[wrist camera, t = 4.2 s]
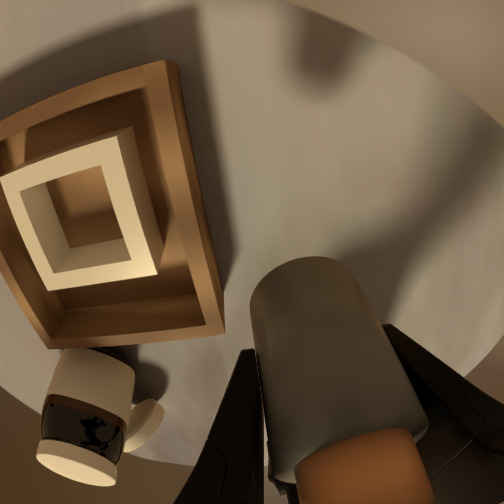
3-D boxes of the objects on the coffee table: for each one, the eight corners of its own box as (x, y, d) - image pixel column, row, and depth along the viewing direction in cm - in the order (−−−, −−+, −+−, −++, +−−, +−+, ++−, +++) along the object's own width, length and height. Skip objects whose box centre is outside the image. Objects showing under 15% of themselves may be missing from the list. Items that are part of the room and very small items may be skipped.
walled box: (223, 293, 23) (225, 333, 20) (64, 313, 23) (48, 349, 20) (177, 63, 15) (164, 59, 11) (-10, 132, 15) (-47, 149, 11)
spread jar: (66, 320, 24) (23, 434, 14) (184, 360, 27) (180, 480, 17) (62, 387, 29) (39, 474, 19) (154, 416, 32) (147, 505, 22)
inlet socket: (164, 247, 20) (157, 274, 18) (63, 265, 20) (47, 291, 17) (132, 125, 16) (116, 135, 13) (24, 161, 16) (-1, 177, 13)
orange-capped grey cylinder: (351, 330, 12) (420, 511, 6) (255, 347, 12) (284, 548, 6) (362, 248, 10) (487, 468, 4) (243, 265, 10) (281, 540, 3)
